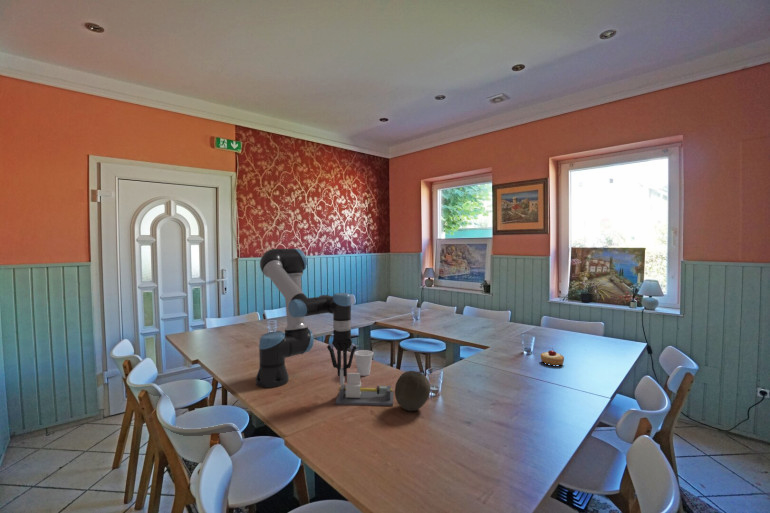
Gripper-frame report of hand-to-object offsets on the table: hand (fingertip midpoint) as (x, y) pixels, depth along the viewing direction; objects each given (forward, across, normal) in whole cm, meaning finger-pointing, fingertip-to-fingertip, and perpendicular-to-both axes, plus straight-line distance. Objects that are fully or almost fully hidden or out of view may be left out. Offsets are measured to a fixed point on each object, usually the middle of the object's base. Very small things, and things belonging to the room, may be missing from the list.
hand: (342, 383), depth 155 cm
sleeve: (+5, +5, 0) cm, 7 cm away
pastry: (+7, +110, +53) cm, 122 cm away
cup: (+7, +6, +29) cm, 31 cm away
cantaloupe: (+7, +30, -8) cm, 32 cm away
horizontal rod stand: (+7, +10, 0) cm, 12 cm away
